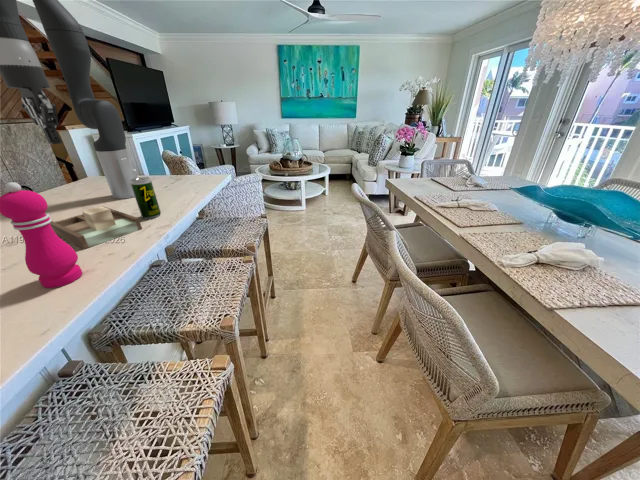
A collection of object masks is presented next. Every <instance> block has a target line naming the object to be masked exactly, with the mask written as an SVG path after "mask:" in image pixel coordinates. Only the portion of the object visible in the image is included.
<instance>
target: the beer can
mask: <svg viewBox="0 0 640 480" xmlns="http://www.w3.org/2000/svg"><path fill="white" fill-rule="evenodd" d="M131 186H132V189H133V192H134V195H135V197H134V198H135V201H136V204H137V207H138V211H139V213H140V216H141V217H142V218H143V219H144V220H153V219H156V218H159V217H161V215H162V214H161V213H162V212H161V208H160V205H159V202H158V198H157V195H156V192H155V189H154V185H153V182H152V180H151V178H150V177H149V176H138V178H134V179H131Z"/></svg>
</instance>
